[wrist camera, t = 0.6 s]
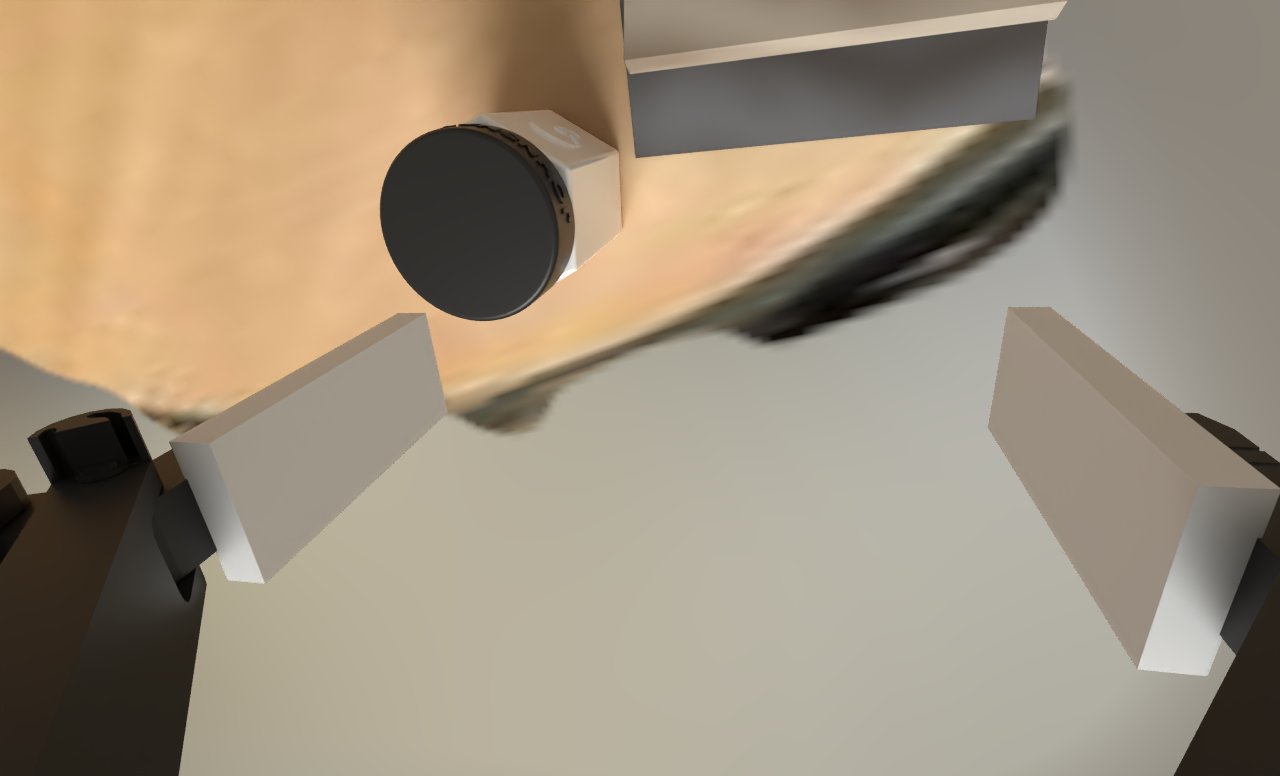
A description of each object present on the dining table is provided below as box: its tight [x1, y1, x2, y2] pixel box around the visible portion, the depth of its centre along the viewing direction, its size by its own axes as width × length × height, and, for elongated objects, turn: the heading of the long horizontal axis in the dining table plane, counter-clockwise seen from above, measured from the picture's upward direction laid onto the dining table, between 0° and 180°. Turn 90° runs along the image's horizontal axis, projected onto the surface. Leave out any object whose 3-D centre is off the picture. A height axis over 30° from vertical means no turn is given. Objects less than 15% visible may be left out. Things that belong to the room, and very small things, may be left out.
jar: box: [380, 110, 622, 321], centre depth 32 cm, size 9×8×12 cm
